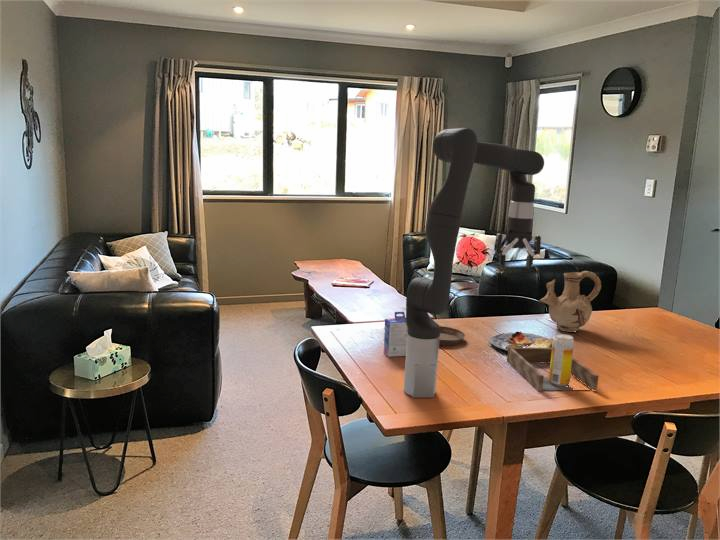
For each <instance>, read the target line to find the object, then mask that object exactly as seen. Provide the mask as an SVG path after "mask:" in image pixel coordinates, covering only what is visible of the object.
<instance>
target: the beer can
mask: <svg viewBox="0 0 720 540" xmlns="http://www.w3.org/2000/svg"><path fill="white" fill-rule="evenodd" d="M552 339H553V343H552V352H551V361H550V363H549V371H548V377H549V381H550V383H551V384H553V385H556V386H567V384H569V382H570V377H571V374H570V373H571V364H572V357H573V356H574V355H573V353H574V346H575V341H574V337H573V335H569V334H565V333H556V334H555V335H554V336H553V337H552Z"/></svg>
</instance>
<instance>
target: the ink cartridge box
mask: <svg viewBox="0 0 720 540" xmlns="http://www.w3.org/2000/svg"><path fill="white" fill-rule="evenodd" d="M407 331H408V328H407V325H406V313H405V311H394V318H384V335H383V336H384V337H383V338H384V339H383V353H384V355H385V356H387V357H388V358H391V357H404V356H405V357H406V345H407Z"/></svg>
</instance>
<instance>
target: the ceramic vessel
mask: <svg viewBox="0 0 720 540" xmlns="http://www.w3.org/2000/svg"><path fill="white" fill-rule="evenodd" d="M563 278H564V287H563V291H562V294H561V295H560V296H558V297H557V295H556V293H555V283H556V278H555V279H553V280H552V281H549V282H546V284H545V287H546V289H547V293H546V295H545V296H544V297H542V298H541V299H539V301H540V302H541V303H544V304H547V305H548V314H549V318H550V319H551V321H552V322H553V323H556V329H558V330H559V329H560V331H562V332H564V331H567V332H574V331H578V332H579V329H580V328H581V327H583V326H585V325H586V324H587V323H588V322H589V321H590V318H591V315H592V312H593V307H592V304H591V301H593V300H594V299H595V298H596V297H597V296H598V295H599V293H600V292H601V289H602V281H601V279H600V278H599V276H598V275H597V274H596V273H594V272H592V271H588V270H583V271H581V272H576V271H575V272H574V271H573V272H571V271H570V272H564V273H563ZM584 278H589V279H590V280H591V281H593V283H594V287H593V289H592V291H591V292H590V293H589V294H588V296H586V295H585V294H582V295H581V294H580V290H581V289H580V288H581V287H580V283H581V281H582V280H583V279H584ZM567 332H566V333H567Z"/></svg>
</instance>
